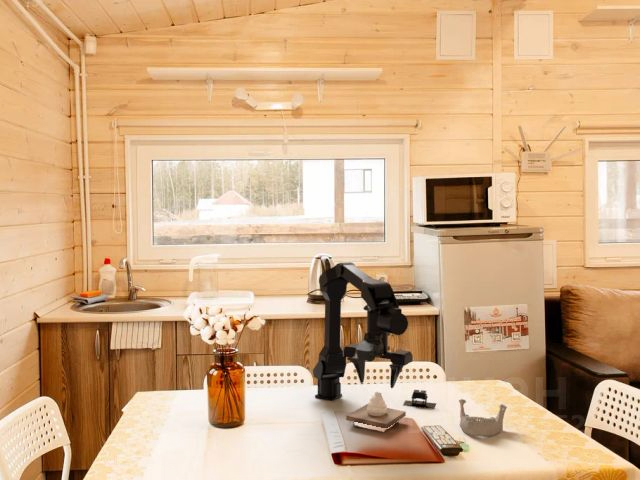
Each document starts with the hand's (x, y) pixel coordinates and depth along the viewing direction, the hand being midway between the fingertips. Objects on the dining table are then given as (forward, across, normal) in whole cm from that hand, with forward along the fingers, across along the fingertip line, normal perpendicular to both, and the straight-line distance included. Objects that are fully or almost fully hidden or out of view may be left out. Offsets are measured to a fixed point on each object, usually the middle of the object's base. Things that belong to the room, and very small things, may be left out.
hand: (376, 385), depth 168 cm
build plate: (+12, +3, +23) cm, 26 cm away
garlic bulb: (+8, 0, 0) cm, 8 cm away
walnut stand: (+11, 0, 0) cm, 11 cm away
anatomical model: (+11, +25, +11) cm, 30 cm away
